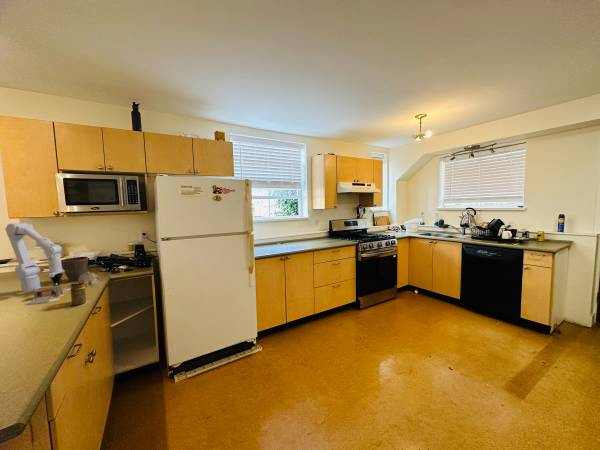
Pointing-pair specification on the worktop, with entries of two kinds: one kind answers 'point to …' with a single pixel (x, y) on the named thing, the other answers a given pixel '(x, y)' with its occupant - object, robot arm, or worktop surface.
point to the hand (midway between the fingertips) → (57, 285)
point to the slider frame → (45, 298)
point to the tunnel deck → (39, 291)
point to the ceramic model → (89, 279)
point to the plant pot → (74, 267)
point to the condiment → (78, 295)
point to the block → (47, 293)
